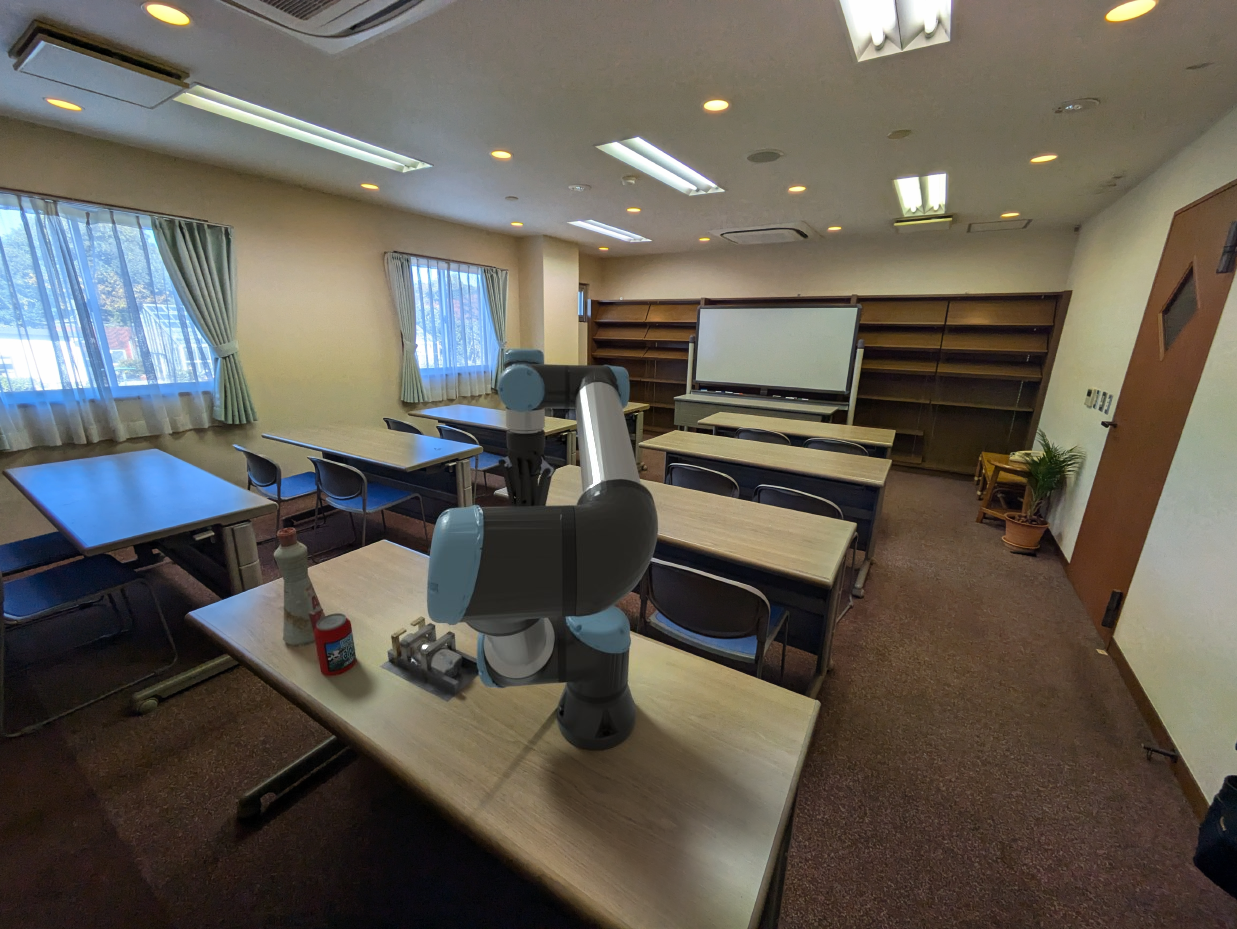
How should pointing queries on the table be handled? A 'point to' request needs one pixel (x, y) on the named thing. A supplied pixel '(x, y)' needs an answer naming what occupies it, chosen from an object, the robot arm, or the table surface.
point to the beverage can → (334, 644)
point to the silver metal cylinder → (437, 657)
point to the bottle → (297, 590)
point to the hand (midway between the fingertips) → (528, 537)
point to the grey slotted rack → (422, 671)
